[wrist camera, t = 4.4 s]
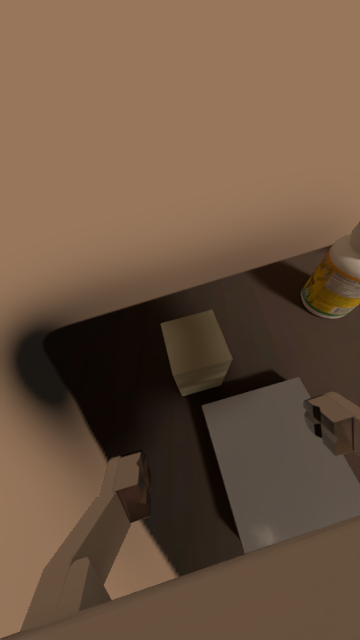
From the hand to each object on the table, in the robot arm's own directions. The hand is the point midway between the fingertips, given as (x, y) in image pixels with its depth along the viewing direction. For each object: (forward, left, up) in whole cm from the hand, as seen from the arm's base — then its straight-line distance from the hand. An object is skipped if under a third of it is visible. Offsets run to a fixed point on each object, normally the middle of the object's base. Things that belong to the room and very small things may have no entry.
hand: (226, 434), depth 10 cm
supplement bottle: (-17, -10, -10) cm, 22 cm away
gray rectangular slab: (-4, +2, -9) cm, 10 cm away
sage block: (0, -6, -9) cm, 11 cm away
